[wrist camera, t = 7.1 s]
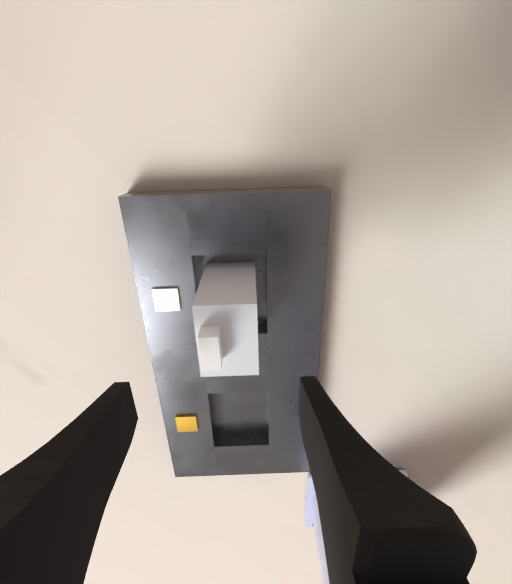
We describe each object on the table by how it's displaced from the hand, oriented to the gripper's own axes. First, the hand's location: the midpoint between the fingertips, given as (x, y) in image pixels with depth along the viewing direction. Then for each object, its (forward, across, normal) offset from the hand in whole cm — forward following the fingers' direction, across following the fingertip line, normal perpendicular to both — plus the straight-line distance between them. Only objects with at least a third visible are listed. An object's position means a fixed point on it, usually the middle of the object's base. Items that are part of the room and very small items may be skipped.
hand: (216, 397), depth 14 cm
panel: (+10, 0, +5) cm, 11 cm away
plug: (+10, 0, 0) cm, 10 cm away
